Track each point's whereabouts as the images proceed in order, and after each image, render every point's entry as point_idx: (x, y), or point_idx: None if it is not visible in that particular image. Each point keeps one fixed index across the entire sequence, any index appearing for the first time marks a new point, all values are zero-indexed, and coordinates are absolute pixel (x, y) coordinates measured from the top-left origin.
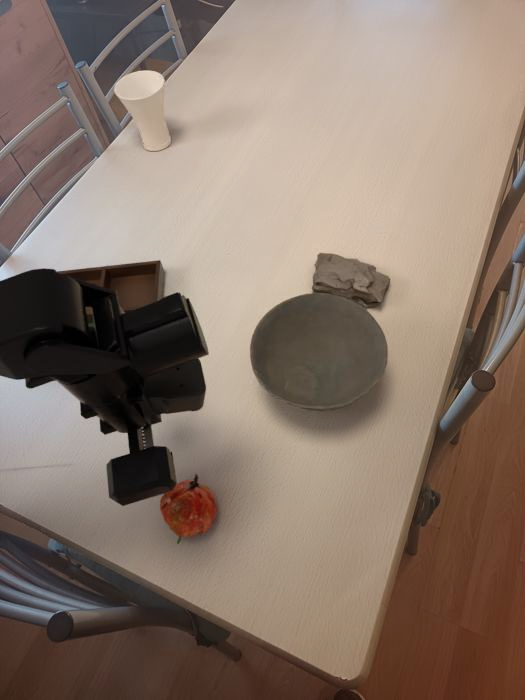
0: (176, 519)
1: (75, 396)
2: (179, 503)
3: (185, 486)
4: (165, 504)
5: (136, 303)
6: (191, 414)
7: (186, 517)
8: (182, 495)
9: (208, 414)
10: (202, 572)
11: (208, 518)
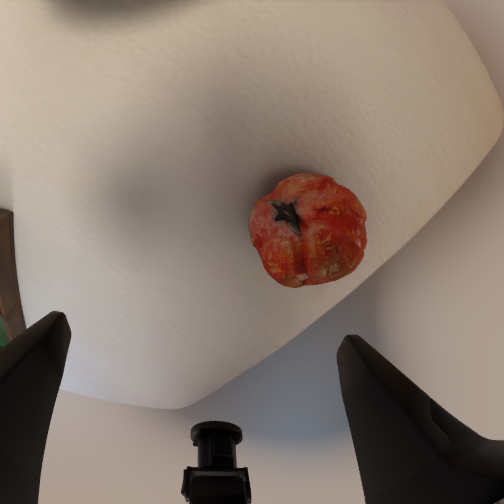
0: (347, 271)
1: None
2: (328, 262)
3: (284, 233)
4: (303, 282)
5: None
6: (99, 168)
7: (356, 253)
8: (312, 250)
9: (109, 134)
10: (378, 227)
11: (359, 204)
